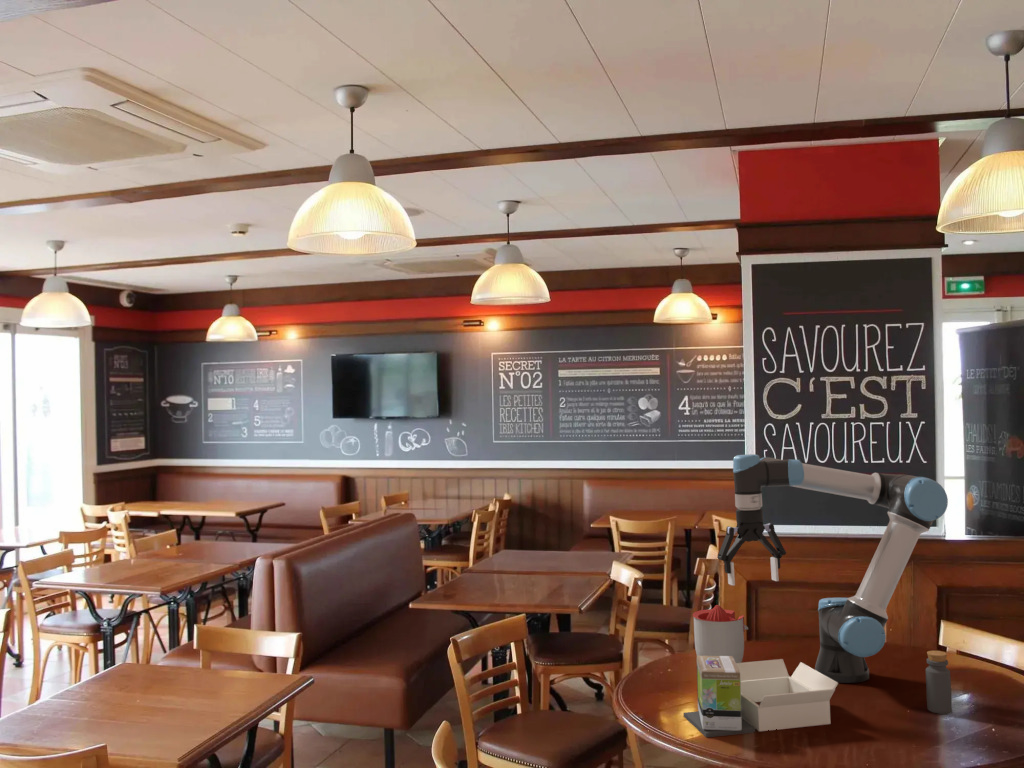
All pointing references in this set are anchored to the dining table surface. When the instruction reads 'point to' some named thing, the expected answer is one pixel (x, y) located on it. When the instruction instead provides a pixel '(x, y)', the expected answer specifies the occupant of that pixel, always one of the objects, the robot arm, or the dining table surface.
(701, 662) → the tea box
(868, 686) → the dining table surface
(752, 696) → the carton
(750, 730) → the mat
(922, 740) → the dining table surface
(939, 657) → the bottle
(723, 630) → the citrus juicer
